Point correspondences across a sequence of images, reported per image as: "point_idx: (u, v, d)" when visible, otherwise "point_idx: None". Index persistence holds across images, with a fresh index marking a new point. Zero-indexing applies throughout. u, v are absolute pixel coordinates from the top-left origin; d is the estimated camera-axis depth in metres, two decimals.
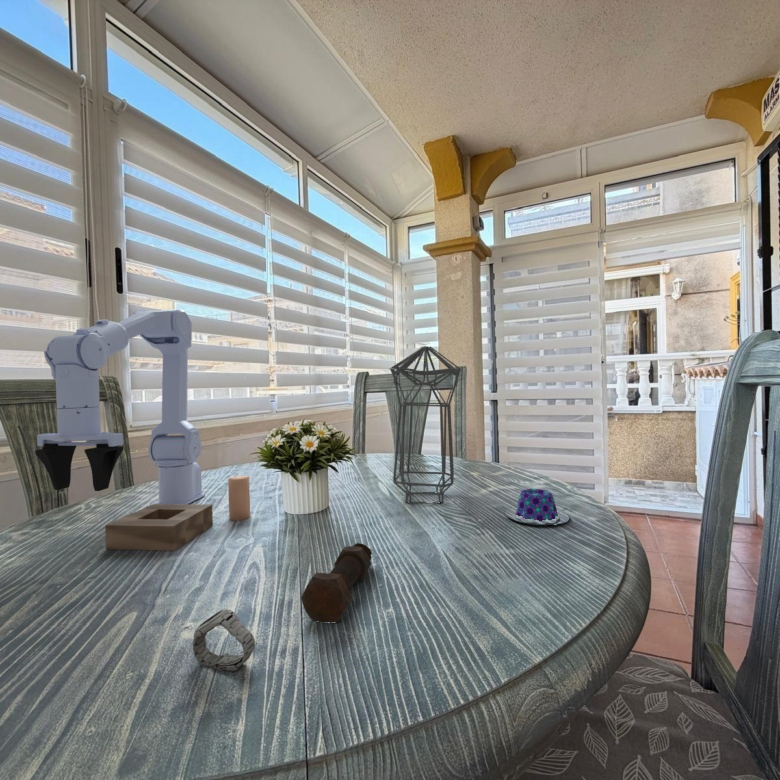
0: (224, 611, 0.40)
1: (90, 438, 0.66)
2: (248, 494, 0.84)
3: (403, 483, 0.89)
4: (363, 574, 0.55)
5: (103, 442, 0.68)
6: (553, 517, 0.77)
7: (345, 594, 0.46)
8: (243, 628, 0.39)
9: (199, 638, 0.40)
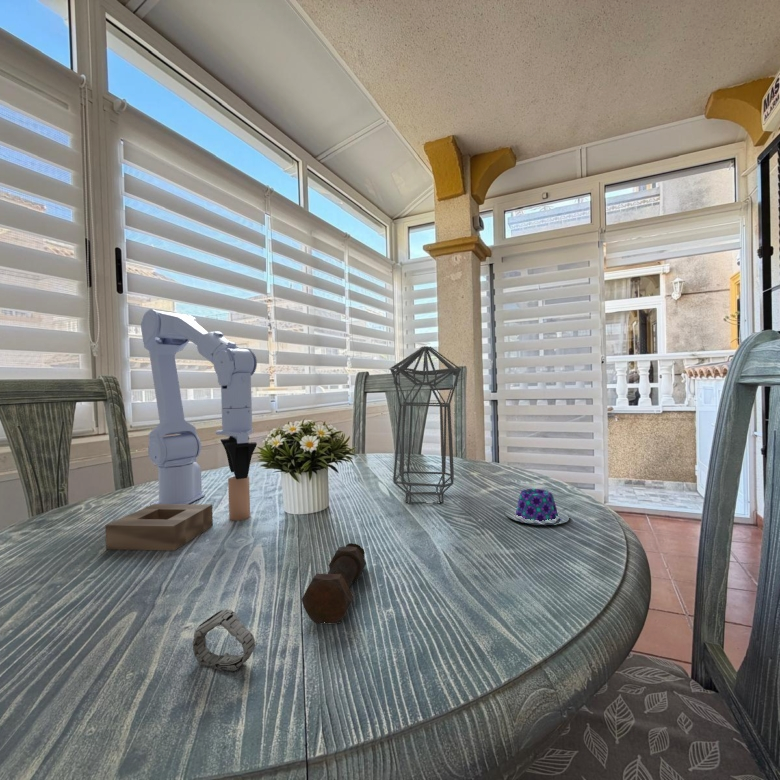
0: (224, 611, 0.40)
1: (230, 434, 0.80)
2: (248, 494, 0.84)
3: (403, 483, 0.89)
4: (359, 574, 0.55)
5: None
6: (553, 517, 0.77)
7: (347, 594, 0.46)
8: (243, 628, 0.39)
9: (199, 638, 0.40)
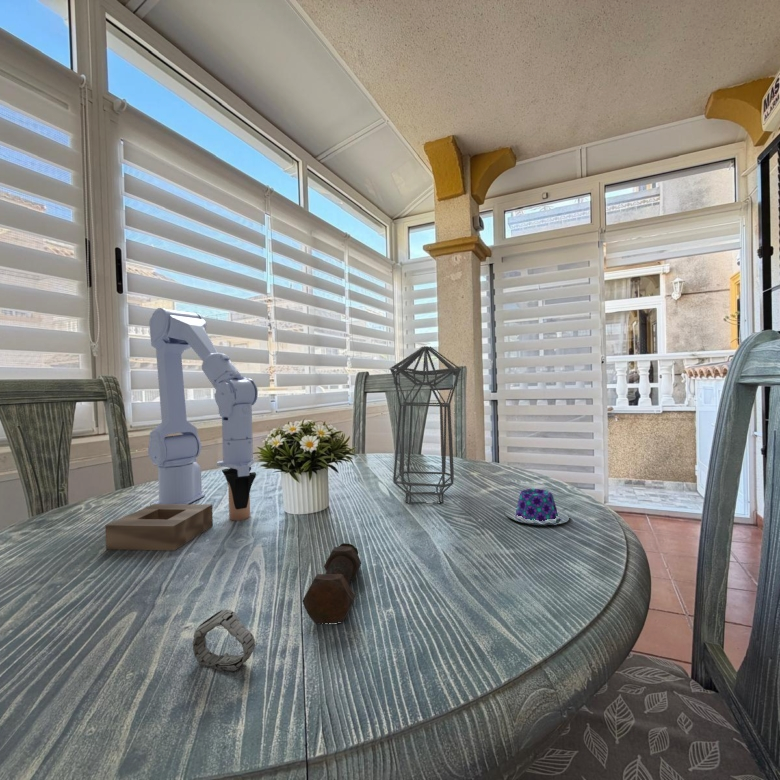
0: (224, 611, 0.40)
1: (231, 466, 0.80)
2: None
3: (403, 483, 0.89)
4: (355, 573, 0.55)
5: None
6: (554, 517, 0.77)
7: (349, 593, 0.46)
8: (243, 628, 0.39)
9: (199, 638, 0.40)
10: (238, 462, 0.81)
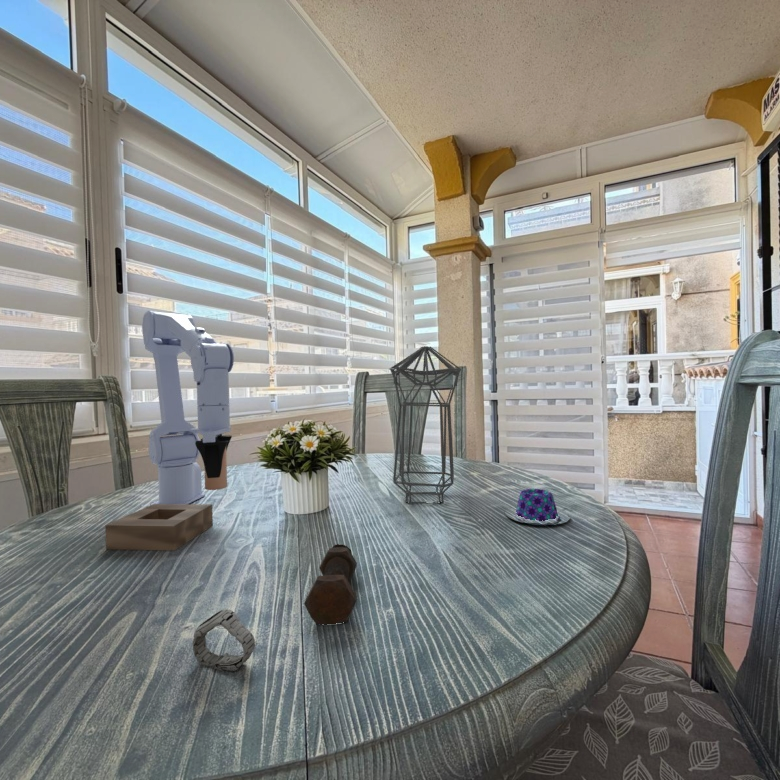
0: (224, 611, 0.40)
1: (200, 433, 0.76)
2: (224, 463, 0.80)
3: (403, 483, 0.89)
4: (351, 574, 0.55)
5: None
6: (554, 517, 0.77)
7: (352, 593, 0.46)
8: (243, 628, 0.39)
9: (199, 638, 0.40)
10: (210, 429, 0.78)
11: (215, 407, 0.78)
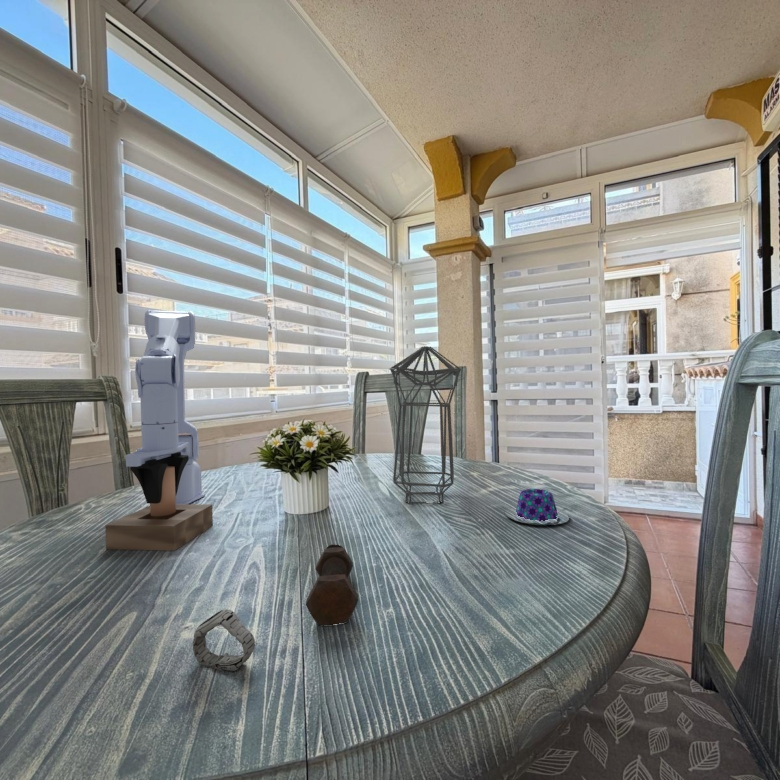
0: (224, 611, 0.40)
1: None
2: (168, 488, 0.73)
3: (403, 483, 0.89)
4: (347, 573, 0.55)
5: None
6: (555, 517, 0.77)
7: (353, 593, 0.46)
8: (243, 628, 0.39)
9: (199, 638, 0.40)
10: (147, 450, 0.71)
11: (153, 426, 0.71)
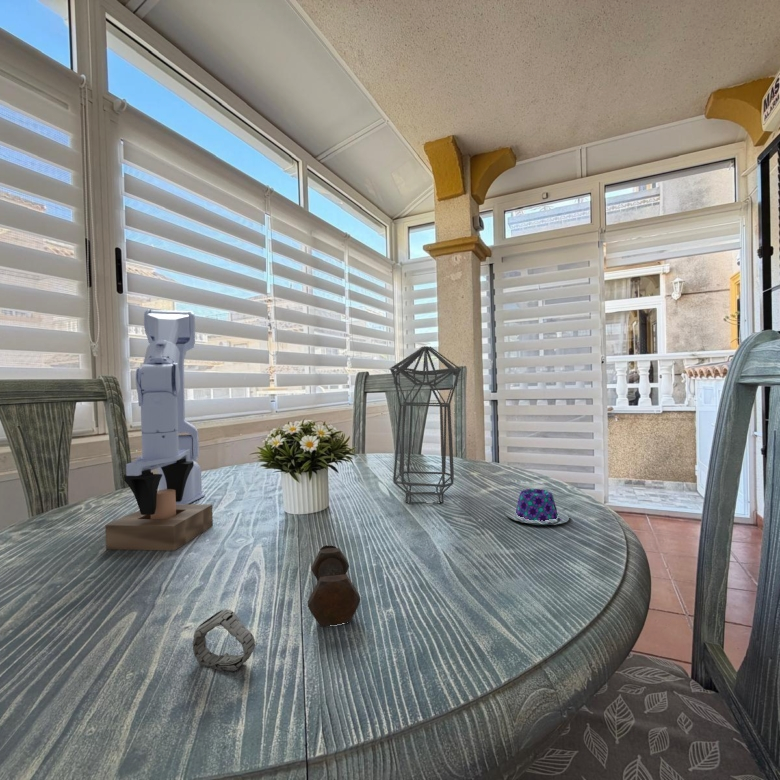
0: (224, 611, 0.40)
1: None
2: (168, 512, 0.73)
3: (403, 483, 0.89)
4: (344, 574, 0.55)
5: None
6: (555, 516, 0.77)
7: (356, 592, 0.46)
8: (243, 628, 0.39)
9: (199, 638, 0.40)
10: (148, 458, 0.71)
11: (153, 435, 0.71)
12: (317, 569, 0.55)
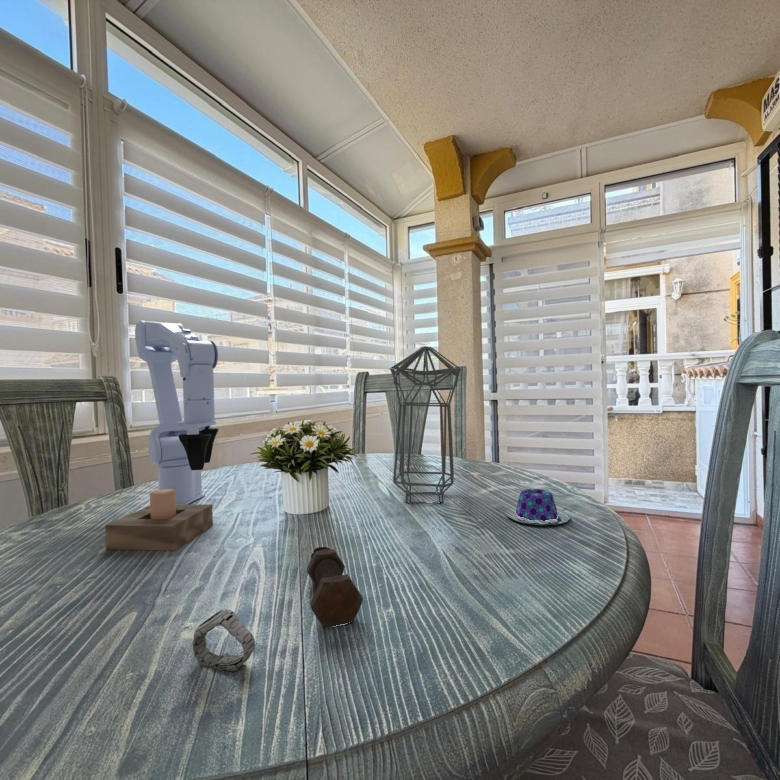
0: (224, 611, 0.40)
1: (185, 425, 0.81)
2: (168, 512, 0.73)
3: (403, 483, 0.89)
4: None
5: None
6: (555, 516, 0.77)
7: (358, 592, 0.46)
8: (243, 628, 0.39)
9: (199, 638, 0.40)
10: (194, 422, 0.82)
11: (200, 401, 0.82)
12: (313, 571, 0.54)
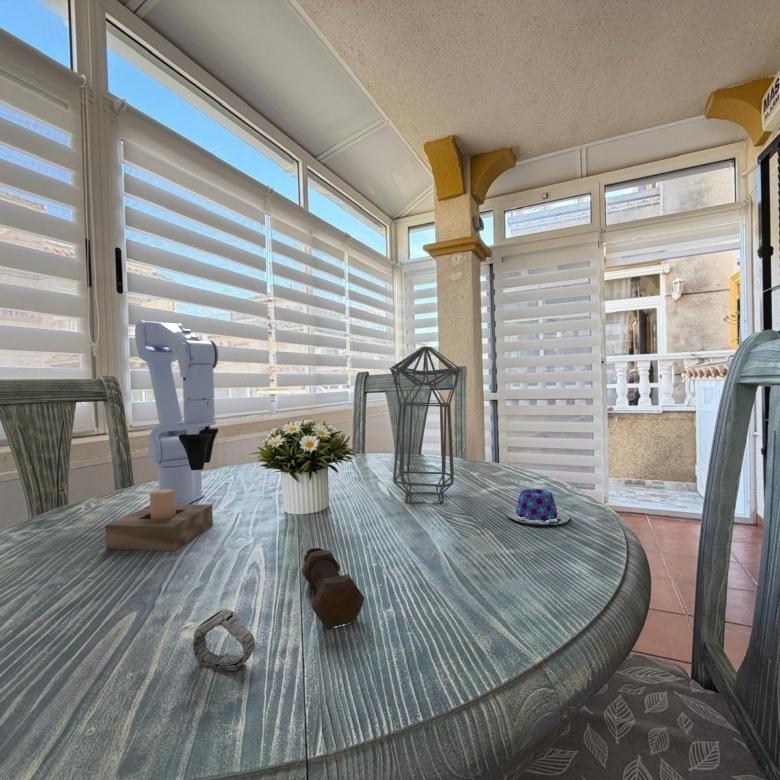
0: (224, 611, 0.40)
1: (185, 425, 0.81)
2: (168, 512, 0.73)
3: (403, 483, 0.89)
4: None
5: None
6: (555, 516, 0.77)
7: None
8: (243, 628, 0.39)
9: (199, 638, 0.40)
10: (194, 422, 0.82)
11: (200, 401, 0.82)
12: (309, 572, 0.54)
